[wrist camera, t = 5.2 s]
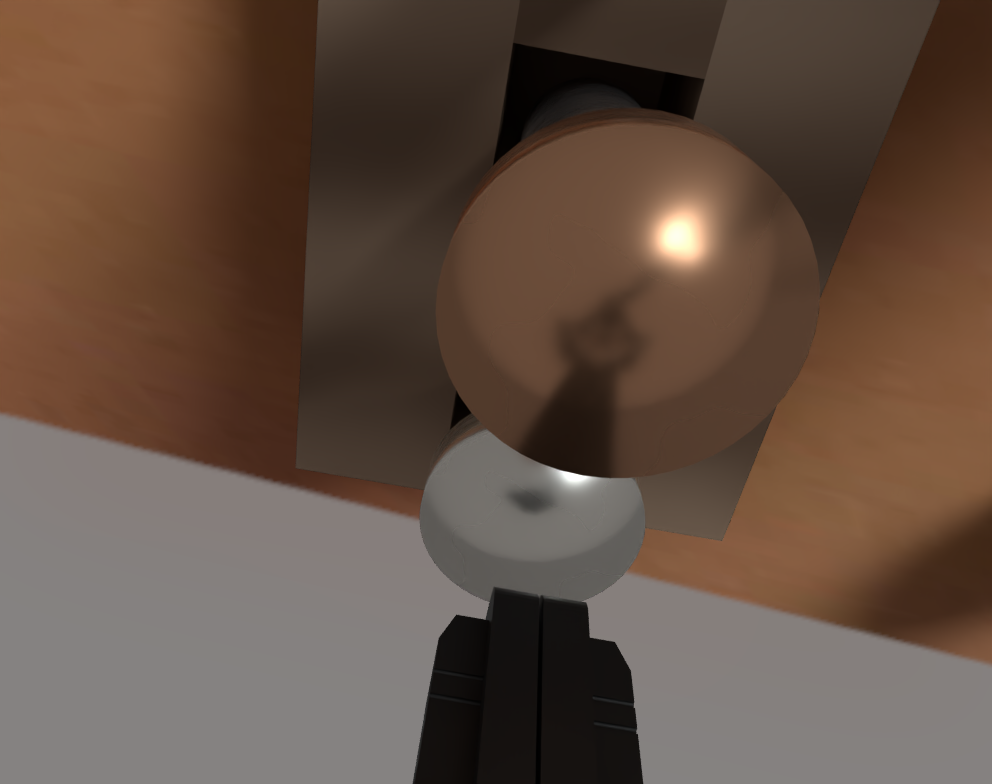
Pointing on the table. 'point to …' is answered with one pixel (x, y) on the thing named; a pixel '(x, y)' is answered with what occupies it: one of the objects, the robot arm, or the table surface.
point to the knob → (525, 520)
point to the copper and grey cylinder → (624, 289)
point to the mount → (497, 129)
